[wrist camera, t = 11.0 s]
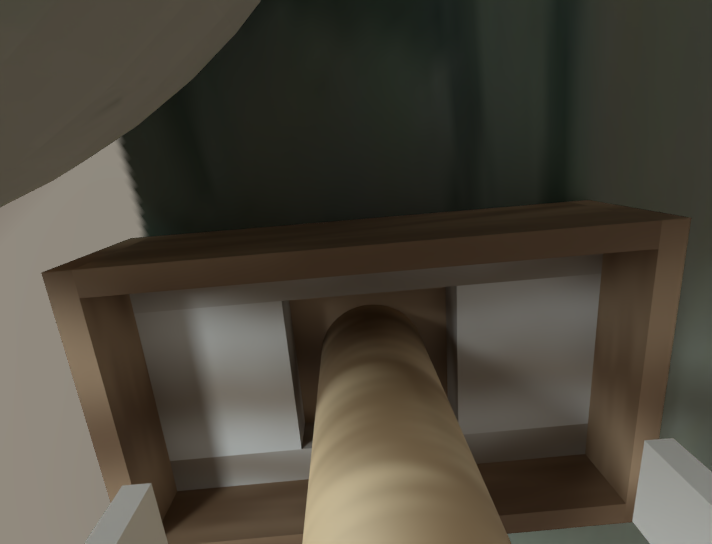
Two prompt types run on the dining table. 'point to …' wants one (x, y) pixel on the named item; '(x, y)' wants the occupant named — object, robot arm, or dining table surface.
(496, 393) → the crate
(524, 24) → the dining table surface
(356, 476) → the peg
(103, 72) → the vase
